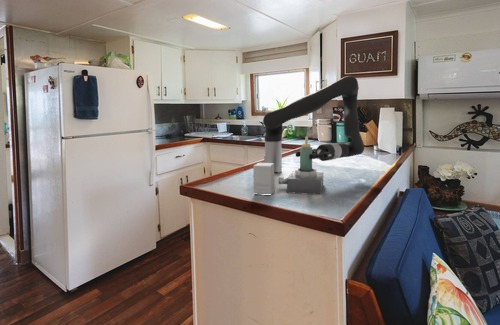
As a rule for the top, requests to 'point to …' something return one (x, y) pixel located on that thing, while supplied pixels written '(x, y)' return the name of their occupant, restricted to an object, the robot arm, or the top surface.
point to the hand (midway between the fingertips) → (302, 155)
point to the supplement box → (264, 178)
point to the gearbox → (304, 182)
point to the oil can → (305, 157)
